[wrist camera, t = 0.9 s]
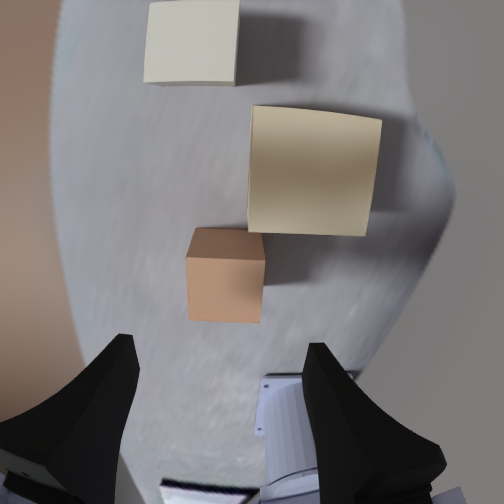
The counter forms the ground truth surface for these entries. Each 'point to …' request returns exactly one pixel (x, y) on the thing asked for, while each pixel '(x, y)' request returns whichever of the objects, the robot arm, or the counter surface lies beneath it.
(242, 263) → the brown cube
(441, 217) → the counter surface
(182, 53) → the cream cube
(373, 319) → the counter surface
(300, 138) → the beech block
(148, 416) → the counter surface
